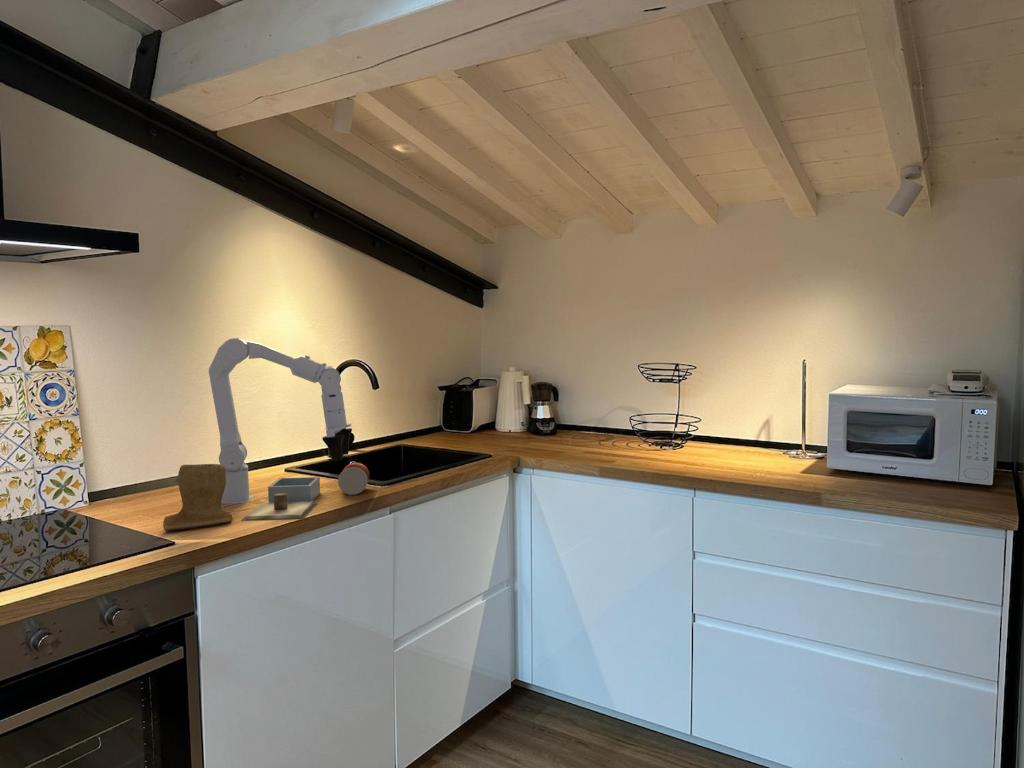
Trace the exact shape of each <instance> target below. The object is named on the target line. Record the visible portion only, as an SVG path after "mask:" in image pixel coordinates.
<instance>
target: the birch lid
mask: <svg viewBox="0 0 1024 768" xmlns="http://www.w3.org/2000/svg"><path fill="white" fill-rule="evenodd" d="M313 503H314V500H313V501H310V502H287V494H286V493H279V494H275V495H274V502H271V503H269V502H262V503H260V504H258V506H257V507H255V508H254V509H252V511H251V512H250V513H248V514H247V515H246V516H245V517H246V519H280V518H301V517H302V516H303V515H304V514H305V513H306V512H307V511H308V510H309V508H310V507H311V506H312V505H313Z"/></svg>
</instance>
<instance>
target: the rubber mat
mask: <svg viewBox="0 0 1024 768" xmlns="http://www.w3.org/2000/svg"><path fill="white" fill-rule="evenodd" d="M317 505H318V503H314V502H313V505H312V506H311V507H310V508H309V510H308V511H307V512H306V513H305V514H304V515H303V516H302V517H301V518H280V519H246V516H244V517H243V518H242V519H241V520H240V521H241V522H243V521H244V522H247V521H251V522H252V521H285V520H287V521H288V520H304V519H306V518H307V517H308V516H309V514H310V513H311V512H312V511H313V510H314V509H315V508H316V506H317Z"/></svg>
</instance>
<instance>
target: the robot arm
mask: <svg viewBox="0 0 1024 768" xmlns="http://www.w3.org/2000/svg"><path fill="white" fill-rule="evenodd" d="M247 358H248V360H252V359H253V360H254V359H263V360H266V361H269V362H271V363H275V364H277V365H278V366H279V365H280V366H283V367H285V368H288V369H289V370H290V372H291V374H292V375H293V376H295V377H298V378H300V379H304V380H306V381H308V382H311V383H313V384H317V383H319V385H320V386H321V387H320V388H321V401H322V402H321V403H322V409H323V416H324V423H325V424H324V425H325V427H324V428H325V433H326V435H325V436H323V437H321V439H322V441H323V443H324V444H325V445H326V447H327V449H328V451H329V454H330V456H331V459H332V461H333V462H340V461H342V459H343V456H346V455H349V451H350V449H349V448H350V439H351V434H352V431H353V428H351V427H352V423H348V422H347V417H346V408H345V403H344V402H345V401H344V395H343V392H342V386H341V381H342V376H341V374H340V373H339V371H338V370H337V369H336V368H334V367H332V366H331V365H330V366H327V363H325V362H322V363H321V362H318V361H316V360H313V359H311V356H309V355H306V354H305V356H304V355H299V356H296V357H293V356H290V355H288V354H286V353H283V352H281V351H279V350H277V349H274V348H272V347H269V346H267V345H265V344H262V343H259V342H256V341H251V340H245V339H244V338H239V337H236V338H229V339H227V340H226V341H225V342H223V343H222V344H221V345H220V346H218V348H217V351H216V354H215V356H214V358H213V359H212V361H211V364H210V366H209V368H208V376H209V381H210V382H209V383H210V386H211V391H212V392H211V394H212V398H213V403H214V409H215V415H216V420H217V426H218V431H219V446H220V452H219V455H218V462H219V463H218V464H221V465H223V466H224V467H225V471H226V485H225V489H224V493H223V496H222V500H221V505H222V504H224V505H225V504H247V502H249V501H250V500H251V499H252V498H255V495H250V484H249V482H250V481H249V465H248V464H247V463H245V461H246V458H247V456H248V450H247V448H246V445H244V444H243V442H242V437H241V434H240V431H239V426H238V421H237V413H236V409H235V404H234V403H235V402H234V398H233V397H234V396H233V392H232V387H231V385H232V384H231V380H230V373H231V372H232V371H234V369H235V367H236V366H237V365H238V364H240V363H242V362H243V361H244V360H246V359H247Z"/></svg>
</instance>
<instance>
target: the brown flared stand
mask: <svg viewBox="0 0 1024 768" xmlns="http://www.w3.org/2000/svg"><path fill="white" fill-rule="evenodd" d="M177 485H178V490H179V493H180V498H181V502H182V508H181V509H180V510H179V511H178V512H177V513H175V514H170V515H167V516H165V517H164V518H163V522H162V526H163V531H164V532H173V531H175V532H176V531H182V530H190V529H197V528H205V527H212V526H216V525H220V524H225V523H228V522H231V521H232V520H233V515H232V514H231V513H229V512H227V511H224V509H222V504H221V500H222V496H223V493H224V489H225V485H226V471H225V467H224V466H223V465H221V464H220V463H202V464H201V463H200V464H182V465H180V467H179V470H178V474H177Z"/></svg>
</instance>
